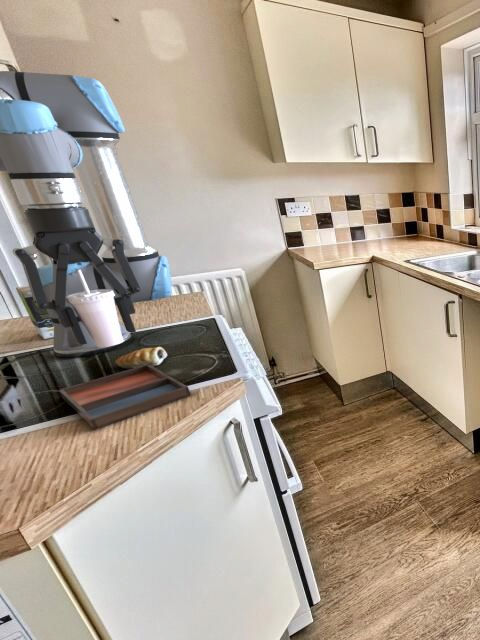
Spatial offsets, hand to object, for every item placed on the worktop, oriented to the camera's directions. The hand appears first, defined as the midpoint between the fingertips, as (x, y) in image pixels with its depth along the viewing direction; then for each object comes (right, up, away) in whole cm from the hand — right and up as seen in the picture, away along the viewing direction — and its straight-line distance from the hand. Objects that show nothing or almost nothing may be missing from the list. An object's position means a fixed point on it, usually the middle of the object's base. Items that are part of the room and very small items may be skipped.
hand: (107, 336), depth 78 cm
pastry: (-14, -7, +25) cm, 29 cm away
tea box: (-59, +3, +51) cm, 78 cm away
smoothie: (0, -1, +1) cm, 2 cm away
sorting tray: (-4, -12, +8) cm, 16 cm away
